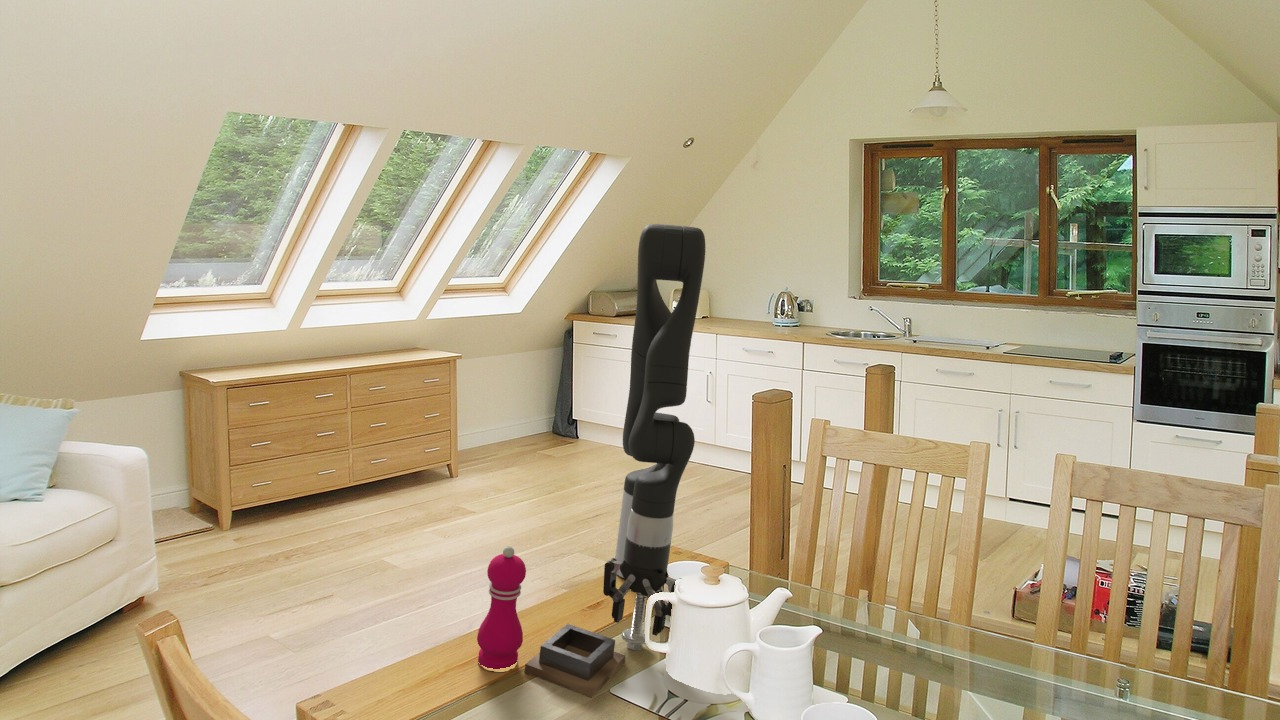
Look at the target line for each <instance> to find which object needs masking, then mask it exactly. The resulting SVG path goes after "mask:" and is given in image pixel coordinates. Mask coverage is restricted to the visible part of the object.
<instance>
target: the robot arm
mask: <svg viewBox="0 0 1280 720" xmlns="http://www.w3.org/2000/svg"><path fill="white" fill-rule="evenodd" d="M637 249H638V250H637V284H636V285H637V286H636V288H637V291H636V309H635V310H636V311H635V319H634V326H633V332H632V333H633V335H632V342H631V343H632V344H631V354H630V357H631V358H630V377H629V378H630V379H629V390H628V391H629V392H628V400H627V405H626V411H625V418H624V423H623V424H624V426H623V431H622V448H623V452H624V453H625V454H626V455H627V456H630V457H632V459H634V461H638V462H641V463H650V464H653V463H654V464H653V465H652V466H649V467H646V468H641V469H637V470H633V471H630V472H629V473H627V474H626V476H625V479H624V484H623V491H622V492H623V493H622V499H621V508H620V518H619V524H618V530H617V531H618V532H617V539H616V549H615V557H612V558H610V559H609V560H608V561H606V562H605V563H604V567H603V568H604V569H603V570H604V571H603V591H602V592H603V595H604V596H606V597H609V598H611V600H612V609H611V617H612V619H613V622H614V623H617V624H618V623H620V622H621V621H622V620H623V617H624V610H625V603H626V599H625V598H624V597H625V596H626V595H627V593H628V592H629V591H630V592H632V593H635V594H636V593H641V594H642V595H644V596H647V597H646V598H649V597H650V596H651V595H653V594H655V593H659V592H664V593H665V591H664V588H663V586H664V585H667V590H668V592H669V593H671V592H674V585H675V581H676V580H677V579H676V578H674V577H670V576H669V573H668V566H669V559H670V551H671V544H672V540H673V539H672V537H673V531H674V511H675V504H676V497H677V491H678V488H679V485H680V482H681V480H682V476H683V475H684V472H685V470H686V467H687V466H688V463H689V461H690V459H691V457H692V454H693V451H694V448H695V441H696V440H695V439H696V438H695V433H694V431H693V429H692V427H691V426H690V425H689V423H687V422H684V421H680V419H679V417H678V416H676V415H674V414H669V413H661V412H657V411H658V410H660V409H663V408H671V407H672V408H673V407H679V406H682V405H684V403H685V401H686V399H687V390H688V389H687V388H688V387H687V386H688V375H689V360H690V352H691V350H690V349H691V343H692V338H693V333H694V332H693V331H694V328H695V323H696V316H697V313H698V312H697V311H698V306H699V300H700V294H701V287H702V283H703V275H704V271H705V270H704V269H705V262H706V238H705V233H704V232H703V230H702V229H701V228H699V227H694V226H685V225H676V224H675V225H674V224H661V223H650V224H647V225H645V227H643V229H642V230H641V233H640V237H639V243H638V248H637ZM657 280H658V281H672V282H680V283H682V288H681V293H680V295H679V296H680V297H679V299H678V301H677V303H676V306H675V307H674V309H673V310H672V312H671V310H670V309H669V307H668V306H667V305H666V302H665V301H664V299H663V297H662V295H661V293H660V289H659V286H658V283H657ZM617 576H619V577H620V578H623V579H624V582H623V583H622V584H621V585H620V586H619V588H617ZM679 579H682V578H679ZM653 608H654V612H655V614H654V616H653V617H654V618H653V624H652V625H653V626H652V633H651V634H652V636H656V637H657V636H658V635H660V634H661V633H662V632H663V631H664V629H665V626H666V625H665V624H666V620H667V616H668V617H672V616H671V609H672V604H671V603H670V602H669V601H668V602H667V601H663V600H658V601H656V602H655V604H654V606H653Z"/></svg>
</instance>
